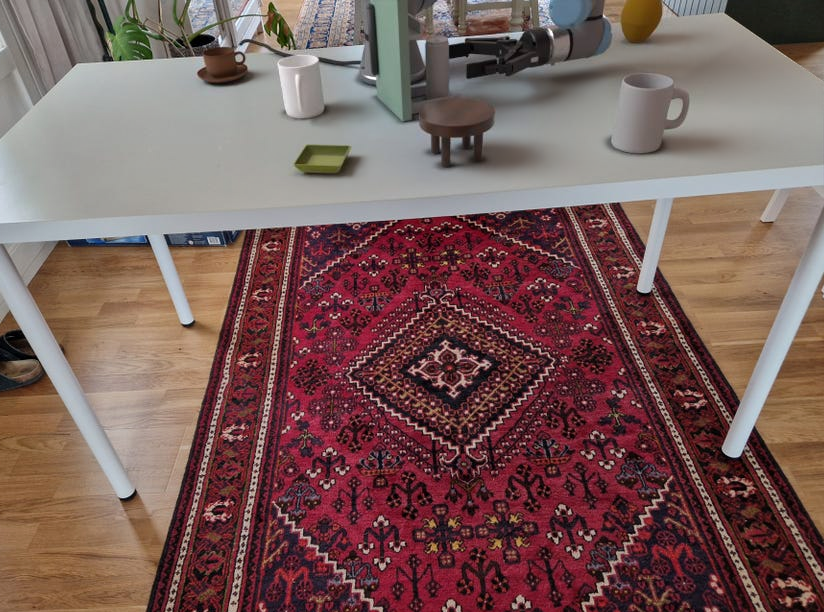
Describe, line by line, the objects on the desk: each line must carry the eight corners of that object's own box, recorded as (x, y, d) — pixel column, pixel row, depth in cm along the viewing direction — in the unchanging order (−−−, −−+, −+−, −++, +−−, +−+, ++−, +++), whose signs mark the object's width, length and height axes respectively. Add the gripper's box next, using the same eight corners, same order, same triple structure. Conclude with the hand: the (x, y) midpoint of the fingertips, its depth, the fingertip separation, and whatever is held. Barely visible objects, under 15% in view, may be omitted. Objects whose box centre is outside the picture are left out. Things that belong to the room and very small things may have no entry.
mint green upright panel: (436, 86, 143) (434, -27, 129) (466, 109, 132) (468, -12, 117) (370, 98, 140) (361, -17, 125) (395, 123, 128) (389, 0, 114)
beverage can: (449, 95, 138) (449, 35, 130) (448, 103, 135) (448, 42, 127) (427, 96, 139) (425, 36, 131) (425, 104, 135) (424, 43, 127)
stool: (407, 164, 114) (405, 119, 108) (440, 137, 122) (440, 94, 117) (474, 177, 108) (475, 130, 103) (503, 148, 117) (506, 103, 111)
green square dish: (353, 156, 117) (352, 145, 116) (342, 177, 111) (340, 165, 110) (307, 155, 119) (305, 144, 117) (294, 175, 112) (292, 164, 111)
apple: (646, 49, 155) (656, -6, 148) (609, 43, 160) (617, -10, 153) (663, 39, 161) (674, -14, 153) (627, 33, 166) (635, -18, 158)
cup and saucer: (229, 67, 161) (223, 41, 157) (259, 75, 155) (254, 48, 151) (189, 81, 155) (182, 53, 151) (219, 90, 149) (212, 62, 144)
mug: (616, 154, 112) (627, 90, 105) (606, 135, 119) (617, 73, 111) (686, 152, 111) (703, 87, 104) (673, 133, 118) (687, 70, 111)
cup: (325, 103, 139) (318, 53, 132) (324, 124, 130) (317, 71, 123) (287, 106, 138) (278, 56, 132) (283, 127, 129) (274, 75, 123)
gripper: (572, 81, 131) (479, 99, 126) (513, 50, 149) (430, 64, 144) (577, 42, 126) (480, 59, 121) (516, 14, 144) (429, 28, 139)
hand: (452, 62), depth 133 cm, fingers open, 13 cm apart
